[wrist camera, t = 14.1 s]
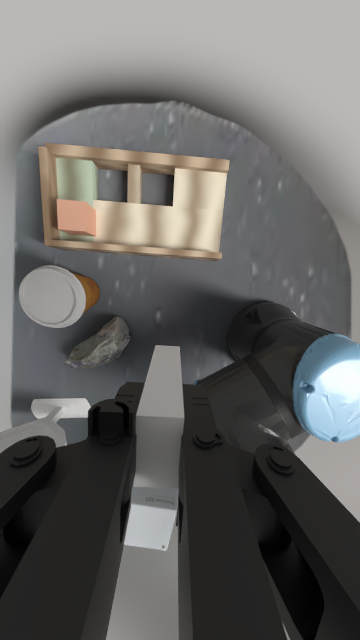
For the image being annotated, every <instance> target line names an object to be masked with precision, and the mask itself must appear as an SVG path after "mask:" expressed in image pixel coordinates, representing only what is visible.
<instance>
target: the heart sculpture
mask: <svg viewBox="0 0 360 640" xmlns="http://www.w3.org/2000/svg"><path fill="white" fill-rule="evenodd" d="M90 408H91V406H90V404H89V402H88V401H87V400H86V398H67V399H34V400H33V402H32V405H31V410H32V412H33V414H34V415H35V417H36V418H37V419H38V420H35V421H32V422H29V423H25V424H22V425H19V426H16V427H14V428H11V429H8V430H6V431H3V432H0V453H1V452H3V451H4V450H5V449H6V448H8V447H10V446H11V445H13V444H14V443H16V442H18V441H20V440H23V439H25V438H28V437H33V436H38V435H41V436H49V437H50V438H52V439H54V441H55V443H56V447H61V446H65V445H67V442H66V435H65V431H64V430H63V429H62V428H61V427H60V426H59V425H58V424H57V423H56V422H57V421H58V420H59V419H60V418H88V410H89V409H90ZM40 418H41V419H40Z"/></svg>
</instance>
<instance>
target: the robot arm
mask: <svg viewBox="0 0 360 640" xmlns="http://www.w3.org/2000/svg"><path fill="white" fill-rule="evenodd" d="M228 341H229V347H230V350H231V352H232V354H233V356H234V357H235V358H236V360H237V361H236V362H234V363H232V364H230V365H228V366H226V367H224V368H222V369H221V370H219V371H217V372H215V373H213V374H211V375H209V376H207V377H205V378H203V379H201V380H197V381H195V382H194V384H192V385H189V384H182V374H181V358H180V347H179V346H162V345H156V346H155V349H154V353H153V356H152V360H151V364H150V367H149V371H148V374H147V378H146V381H145V383H135V382H127V383H125V384H124V385H123V386H122V387H120V389H119V391H118V393H117V396H116V397H115V399H108V400H104V401H101V402H99V403H97V404H95V405H93V406H92V407H91V408H90V409H89V410H88V437H87V439H86V440H83V441H81V442H78V443H74V444H70V445H65V446H61V447H56V443H55V441H54V439H52V438H50V437H49V436H41V435H38V436H33V437H28V438H25V439H23V440H20V441H18V442H16V443H14V444H13V445H11V446H10V447H8V448H6V449H5V450H4V451H3V452H1V453H0V640H106V636H107V630H108V625H109V620H110V615H111V609H112V603H113V599H114V593H115V588H116V583H117V578H118V572H119V567H120V562H121V556H122V551H123V546H124V540H125V535H126V530H127V525H128V519H129V514H130V509H131V492H132V487H133V482H134V487H150V488H178V487H179V497H178V509H177V520H176V521H177V522H176V526H178V604H179V640H360V523H359V522H358V521H357V519H356V518H355V517H354V516H353V515H352V514H351V513H350V512H349V511H348V510H347V509H346V508H345V507H344V506H343V505H342V504H341V502H340V501H339V500H338V499H337V498H336V497H335V496H334V495H333V494H332V493H331V492H330V491H329V490H328V489H327V488H326V486H324V484H323V483H322V482H321V481H320V480H319V479H318V478H317V477H316V476H315V475H314V474H313V473H312V472H311V470H309V468H307V466H306V465H305V464H304V463H303V462H302V461H301V460H300V459H299V458H298V457H297V456H296V455H295V453H294V452H293V450H292V448H291V447H290V445H289V443H288V440H289V439H291V438H293V437H295V436H297V435H299V434H302V433H304V432H306V431H307V432H308V433H309V434H311V435H313V436H315V437H317V438H319V439H321V440H323V441H330V440H332V441H333V442H344V441H347V440H350V439H353V438H355V437H357V436H359V435H360V344H358V343H356V342H354V341H352V340H351V339H349V338H348V337H346V336H344V335H341V334H336V333H333V332H330V331H327V330H324V329H321V328H318V327H315V326H313V325H310V324H307V323H304V322H301V320H300V319H299V318H298V316H297V315H296V314H295V313H294V312H293V311H292V310H290V309H289V308H287V307H285V306H283V305H280V304H276V303H272V302H261V303H256V304H253V305H251V306H249V307H247V308H245V309H244V310H243V311H241V312H240V313H239V314H238V315H237V317H236V318H235V319H234V321H233V323H232V325H231V327H230V330H229V336H228Z"/></svg>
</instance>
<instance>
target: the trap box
mask: <svg viewBox="0 0 360 640" xmlns="http://www.w3.org/2000/svg"><path fill="white" fill-rule="evenodd" d="M38 151H39V166H40V181H41V197H42V212H43V228H44V243H45V246H49V247H54V248H58V249H63V250H76V251H89V252H103V253H116V254H129V255H143V256H156V257H170V258H183V259H196V260H210V261H216V260H219V259H221V258H222V253H219V244H220V235H221V225H222V216H223V206H224V197H225V187H226V177H227V172H228V169H229V160H224V159H213V158H202V157H192V156H181V155H170V154H159V153H149V152H138V151H127V150H117V149H106V148H95V147H85V146H74V145H63V144H52V143H46V147H44V146H38ZM98 168H99V169H110V170H121V171H128V198H127V203H124V202H112V201H101V200H98ZM142 172H144V173H155V174H166V175H175V177H174V195H173V207H172V206H160V205H148V204H141V195H142ZM57 199H63V200H74V201H85V202H87V203H88V204H89V205H90V206H92V207H93V208H94V209H95V210H96V237H94V236H82V235H71V234H69V233H66V232H64V231H61V230H59V229H58V217H57Z"/></svg>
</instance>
